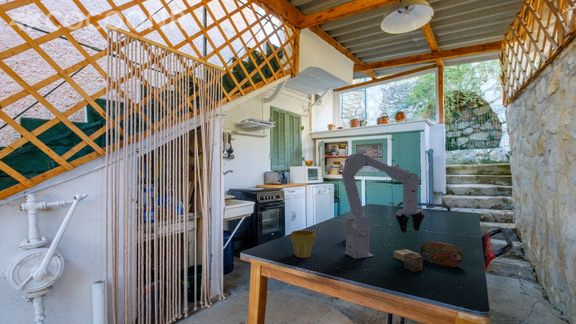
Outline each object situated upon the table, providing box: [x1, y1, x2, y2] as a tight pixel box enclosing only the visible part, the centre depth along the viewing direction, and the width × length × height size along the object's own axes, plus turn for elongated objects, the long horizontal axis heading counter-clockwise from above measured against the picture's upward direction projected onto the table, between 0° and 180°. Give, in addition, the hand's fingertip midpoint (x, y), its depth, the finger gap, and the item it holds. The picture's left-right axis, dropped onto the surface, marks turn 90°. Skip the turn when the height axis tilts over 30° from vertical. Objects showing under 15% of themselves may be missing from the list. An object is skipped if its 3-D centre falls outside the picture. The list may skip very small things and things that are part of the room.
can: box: [344, 216, 353, 240], centre depth 140 cm, size 8×8×12 cm
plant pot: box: [290, 229, 316, 259], centre depth 116 cm, size 10×10×10 cm
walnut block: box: [403, 253, 423, 272], centre depth 102 cm, size 4×4×5 cm
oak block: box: [393, 248, 421, 263], centre depth 113 cm, size 7×7×3 cm
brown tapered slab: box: [419, 240, 465, 268], centre depth 108 cm, size 15×3×8 cm, turn 48°
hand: (409, 231), depth 118 cm, fingers open, 7 cm apart
